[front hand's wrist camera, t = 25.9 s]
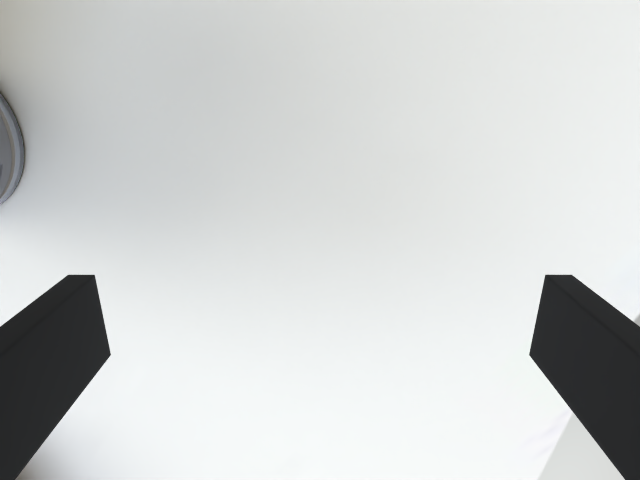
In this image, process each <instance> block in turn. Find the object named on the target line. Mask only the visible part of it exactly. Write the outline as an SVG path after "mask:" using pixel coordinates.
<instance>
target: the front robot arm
mask: <svg viewBox="0 0 640 480" xmlns="http://www.w3.org/2000/svg"><path fill="white" fill-rule="evenodd" d="M23 164H24V146H23V140H22V135H21V132H20V128H19V125H18V123H17V120H16V118H15V116H14V114H13V112H12V110H11V108H10V106H9V104H8V103H7V101H6V100H5V98H4V97H3V96H2V94H1V93H0V204H2V203H3V202H4V201H5V200H7V199H8V198H9V196H10V195H11V194H12V193H13V191H14V190H15V188H16V187H17V185H18V183H19V180H20V178H21V174H22V170H23ZM110 355H111V354H110V349H109V344H108V339H107V334H106V329H105V324H104V319H103V314H102V309H101V304H100V299H99V294H98V289H97V284H96V279H95V275H68V276H66V277H65V278H64V279H62V280H61V281H60V282H58V283H57V284H56V285H54V286H53V287H52V288H50V289H49V290H48V291H47V292H45V293H44V294H43V295H41V296H40V297H39V298H37V299H36V300H35V301H33V302H32V303H31V304H30V305H28V306H27V307H26V308H24V309H23V310H22V311H20V312H19V313H18V314H16V315H15V316H14V317H13V318H11V319H10V320H9V321H7V322H6V323H5V324H3V325H2V326H1V327H0V480H15V479H16V477H17V476H18V475H19V474H20V472H21V471H22V470H23V468H24V467H25V466H26V464H27V463H28V462H29V461H30V459H31V458H32V457H33V455H34V454H35V453H36V451H37V450H38V449H39V448H40V446H41V445H42V444H43V442H44V441H45V440H46V438H47V437H48V436H49V435H50V433H51V432H52V431H53V429H54V428H55V427H56V425H57V424H58V423H59V422H60V420H61V419H62V418H63V416H64V415H65V414H66V412H67V411H68V410H69V408H70V407H71V406H72V405H73V403H74V402H75V401H76V399H77V398H78V397H79V395H80V394H81V393H82V392H83V390H84V389H85V388H86V386H87V385H88V384H89V382H90V381H91V380H92V379H93V377H94V376H95V375H96V373H97V372H98V371H99V369H100V368H101V367H102V366H103V364H104V363H105V362H106V360H107V359H108V358H109V356H110ZM529 355H530V356H531V358H532V359H533V360H534V362H535V363H536V364H537V366H538V367H539V368H540V369H541V371H542V372H543V373H544V375H545V376H546V377H547V379H548V380H549V381H550V382H551V384H552V385H553V386H554V388H555V389H556V390H557V392H558V393H559V394H560V395H561V397H562V398H563V399H564V401H565V402H566V403H567V405H568V406H569V407H570V409H571V410H572V411H573V412H574V414H575V415H576V416H577V418H578V419H579V420H580V422H581V423H582V424H583V425H584V427H585V428H586V429H587V431H588V432H589V433H590V435H591V436H592V437H593V438H594V440H595V441H596V442H597V444H598V445H599V446H600V448H601V449H602V450H603V451H604V453H605V454H606V455H607V457H608V458H609V459H610V461H611V462H612V463H613V464H614V466H615V467H616V468H617V470H618V471H619V472H620V473H621V475H622V476H623V477H624V479H625V480H640V327H639V326H638V325H637V324H635V323H634V322H633V321H631V320H630V319H629V318H627V317H626V316H625V315H624V314H622V313H621V312H620V311H618V310H617V309H616V308H614V307H613V306H612V305H610V304H609V303H608V302H607V301H605V300H604V299H603V298H601V297H600V296H599V295H597V294H596V293H595V292H593V291H592V290H591V289H590V288H588V287H587V286H586V285H584V284H583V283H582V282H580V281H579V280H578V279H576V278H575V277H574V276H572V275H545V279H544V284H543V289H542V294H541V299H540V304H539V309H538V314H537V319H536V324H535V329H534V334H533V339H532V344H531V349H530V354H529Z"/></svg>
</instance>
